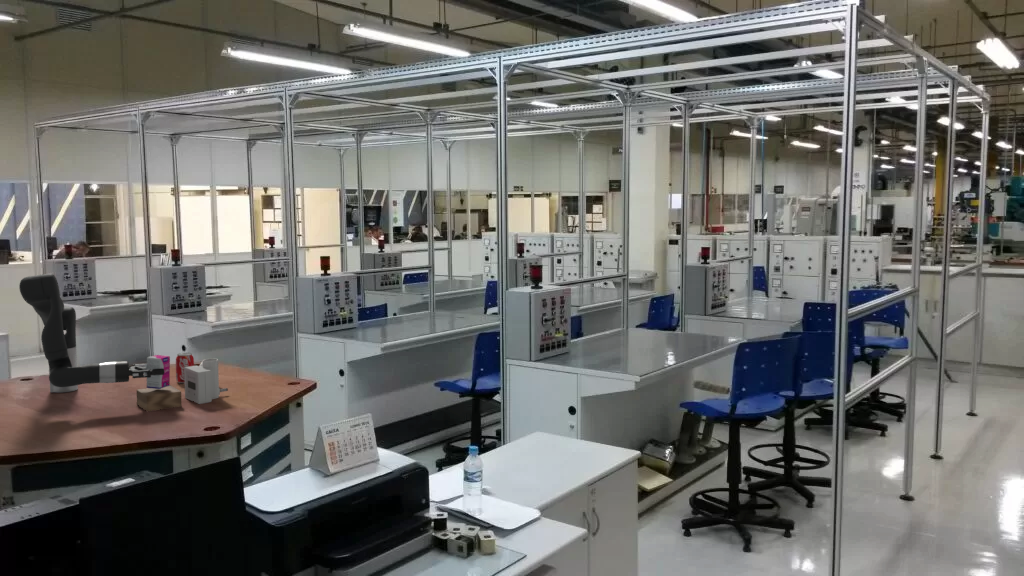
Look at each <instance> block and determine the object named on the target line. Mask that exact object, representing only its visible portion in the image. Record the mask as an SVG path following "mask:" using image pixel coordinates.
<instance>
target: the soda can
mask: <svg viewBox="0 0 1024 576" xmlns="http://www.w3.org/2000/svg"><path fill="white" fill-rule="evenodd" d="M176 355H177V356H176V357H175V379H176V382H177V383H179V384H185V374H184V367H189V366H195V357H194V356H193V353H192V352H181V353H180V352H179V353H177V354H176Z"/></svg>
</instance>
